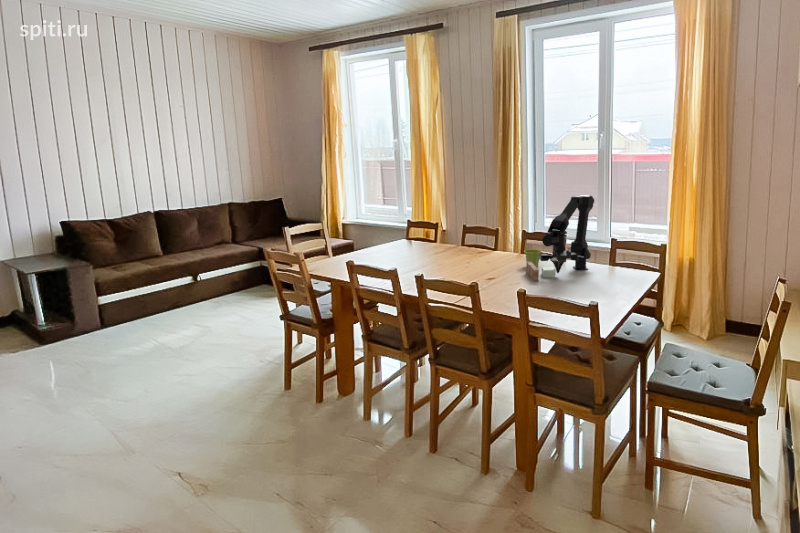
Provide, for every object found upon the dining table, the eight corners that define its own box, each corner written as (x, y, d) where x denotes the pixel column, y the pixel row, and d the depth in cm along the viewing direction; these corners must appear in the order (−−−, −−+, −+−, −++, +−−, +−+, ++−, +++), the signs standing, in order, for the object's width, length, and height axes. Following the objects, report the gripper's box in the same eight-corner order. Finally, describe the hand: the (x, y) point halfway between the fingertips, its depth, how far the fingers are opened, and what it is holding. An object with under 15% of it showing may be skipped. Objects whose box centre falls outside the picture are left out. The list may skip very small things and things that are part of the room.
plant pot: (520, 266, 319) (520, 251, 317) (531, 263, 325) (531, 248, 322) (533, 269, 312) (533, 253, 310) (544, 266, 317) (545, 251, 315)
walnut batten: (526, 272, 305) (526, 261, 303) (530, 272, 305) (531, 261, 303) (533, 281, 287) (533, 269, 286) (538, 281, 287) (538, 269, 286)
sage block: (541, 274, 301) (541, 267, 300) (553, 274, 301) (553, 267, 300) (543, 277, 295) (543, 270, 294) (555, 277, 294) (555, 270, 293)
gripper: (544, 247, 284) (543, 277, 287) (581, 246, 284) (580, 276, 287) (539, 242, 295) (538, 272, 298) (575, 241, 294) (574, 271, 298)
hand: (557, 273), depth 295 cm, fingers closed
